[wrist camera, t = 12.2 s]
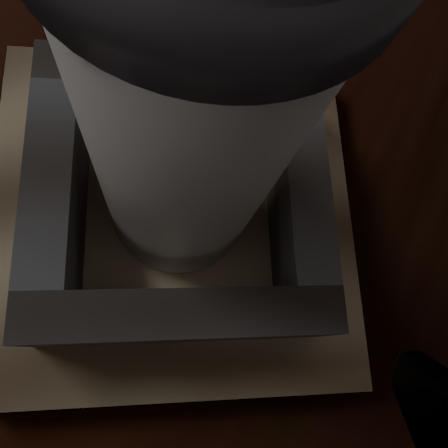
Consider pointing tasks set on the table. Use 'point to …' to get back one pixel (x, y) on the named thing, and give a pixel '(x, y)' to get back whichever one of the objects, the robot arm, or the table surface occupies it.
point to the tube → (203, 104)
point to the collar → (164, 277)
